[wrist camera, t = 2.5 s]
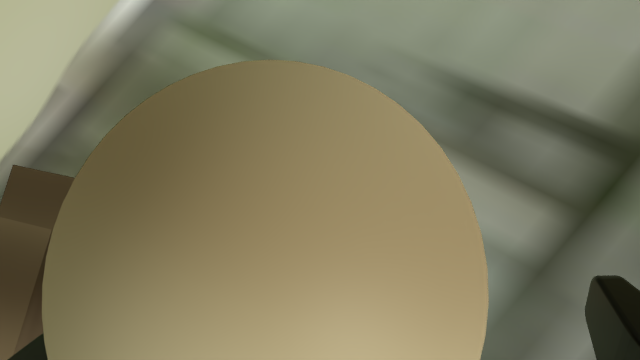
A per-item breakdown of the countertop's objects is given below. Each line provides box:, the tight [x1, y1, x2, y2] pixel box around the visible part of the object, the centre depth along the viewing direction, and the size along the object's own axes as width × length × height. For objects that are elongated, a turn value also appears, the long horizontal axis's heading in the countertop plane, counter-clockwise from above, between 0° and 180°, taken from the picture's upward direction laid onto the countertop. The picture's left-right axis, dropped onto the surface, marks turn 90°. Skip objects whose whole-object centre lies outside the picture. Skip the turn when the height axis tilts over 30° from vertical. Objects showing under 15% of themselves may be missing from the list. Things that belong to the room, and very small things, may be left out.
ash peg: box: [42, 60, 489, 360], centre depth 11 cm, size 4×4×14 cm
